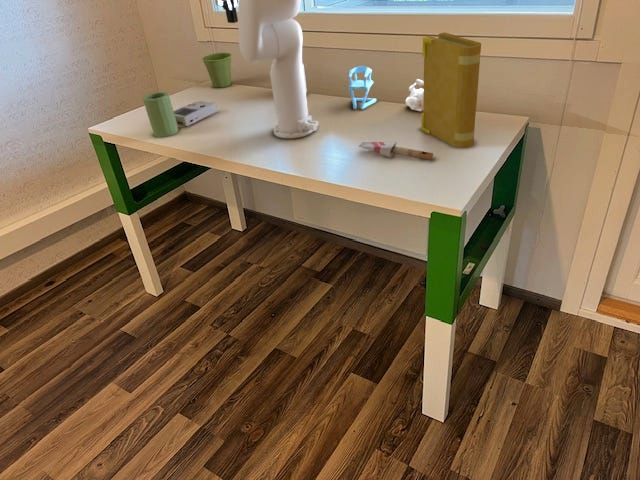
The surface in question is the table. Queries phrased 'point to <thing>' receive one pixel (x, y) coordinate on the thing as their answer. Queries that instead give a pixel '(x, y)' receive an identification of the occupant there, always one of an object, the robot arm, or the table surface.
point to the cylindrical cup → (160, 114)
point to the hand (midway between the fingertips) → (233, 22)
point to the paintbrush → (394, 150)
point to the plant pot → (219, 68)
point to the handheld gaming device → (194, 112)
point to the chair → (361, 86)
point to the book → (450, 88)
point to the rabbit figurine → (416, 96)
